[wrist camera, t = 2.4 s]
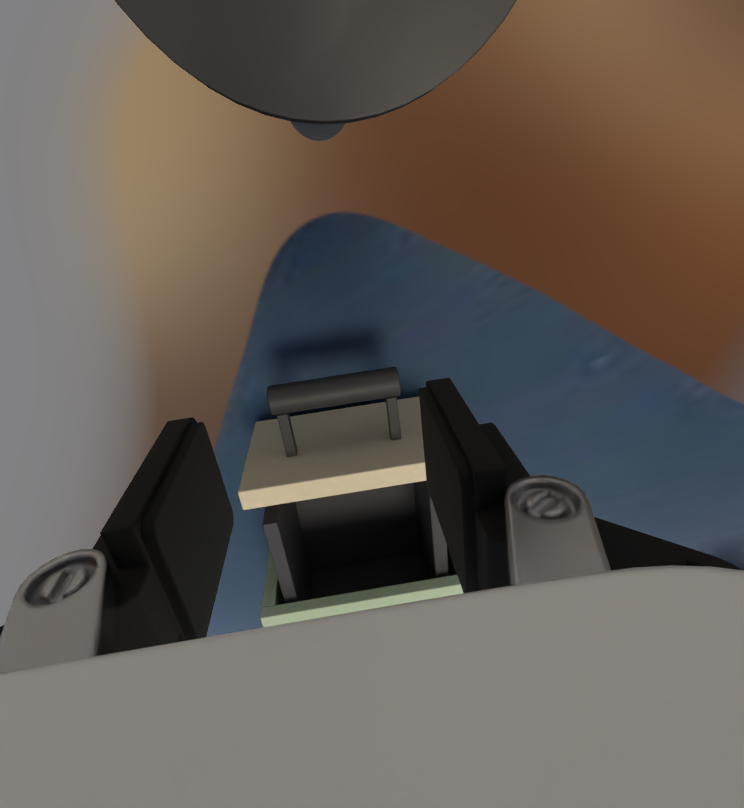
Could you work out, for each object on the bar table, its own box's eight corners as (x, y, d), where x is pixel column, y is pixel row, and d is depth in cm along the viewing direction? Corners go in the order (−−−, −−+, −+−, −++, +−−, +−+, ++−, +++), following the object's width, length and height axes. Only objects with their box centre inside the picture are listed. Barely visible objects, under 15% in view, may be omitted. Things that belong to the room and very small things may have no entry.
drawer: (239, 361, 30) (214, 419, 23) (420, 333, 30) (450, 383, 23) (295, 570, 38) (289, 662, 31) (437, 547, 38) (464, 631, 31)
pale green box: (273, 511, 36) (259, 618, 27) (438, 485, 36) (475, 581, 28) (309, 640, 42) (306, 759, 34) (448, 616, 43) (480, 728, 34)
